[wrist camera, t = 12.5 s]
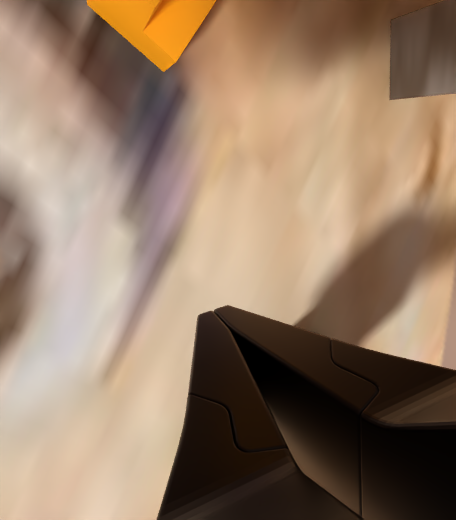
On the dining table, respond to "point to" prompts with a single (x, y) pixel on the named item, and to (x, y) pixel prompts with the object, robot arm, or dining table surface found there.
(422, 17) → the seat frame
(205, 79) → the dining table surface
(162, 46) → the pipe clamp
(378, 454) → the robot arm
